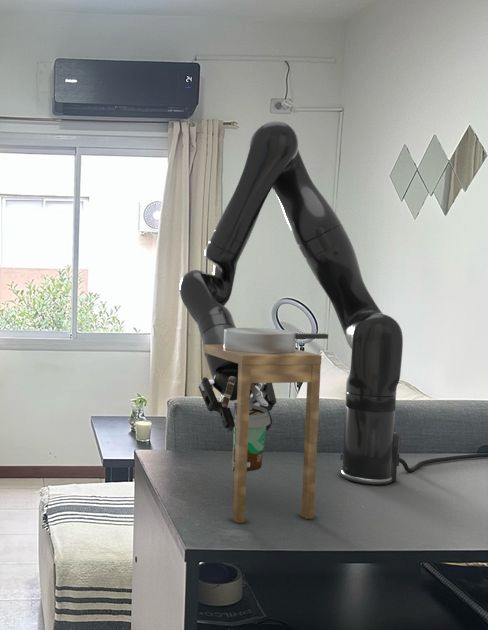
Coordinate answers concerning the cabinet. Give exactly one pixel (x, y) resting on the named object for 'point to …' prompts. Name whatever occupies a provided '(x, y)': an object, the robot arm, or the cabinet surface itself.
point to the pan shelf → (271, 367)
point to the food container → (253, 436)
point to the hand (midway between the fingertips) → (249, 428)
